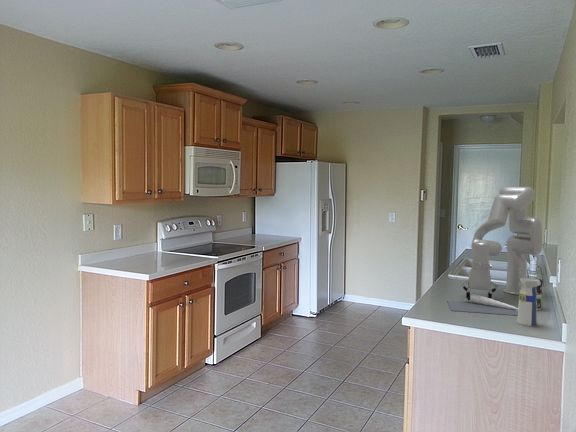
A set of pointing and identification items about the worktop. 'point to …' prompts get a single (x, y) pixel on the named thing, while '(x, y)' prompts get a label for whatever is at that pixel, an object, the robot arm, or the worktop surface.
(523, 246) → the robot arm
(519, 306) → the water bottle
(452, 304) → the mat
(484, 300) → the unicorn horn
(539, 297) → the coffee can
